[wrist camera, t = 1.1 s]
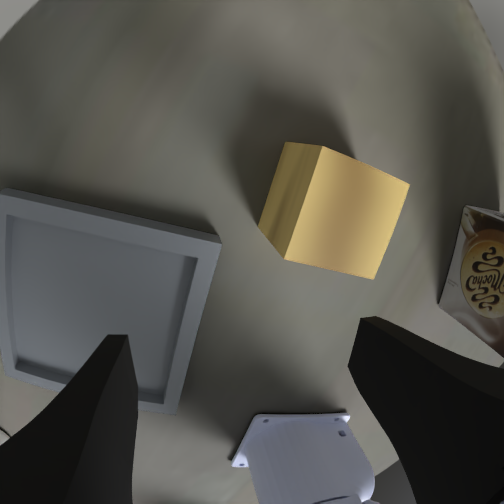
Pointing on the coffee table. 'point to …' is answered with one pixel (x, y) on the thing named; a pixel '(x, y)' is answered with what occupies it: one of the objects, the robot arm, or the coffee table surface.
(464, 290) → the coffee box
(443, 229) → the coffee table surface
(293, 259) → the cube
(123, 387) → the robot arm
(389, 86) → the coffee table surface
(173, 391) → the tray
